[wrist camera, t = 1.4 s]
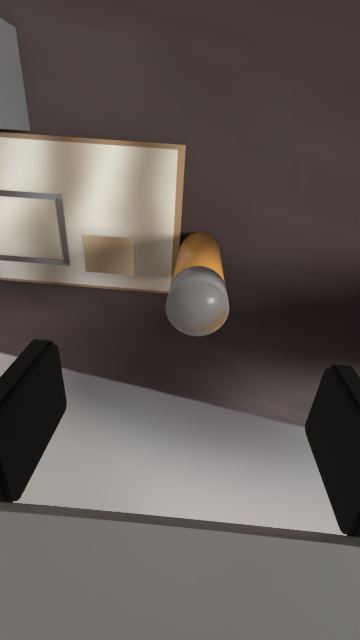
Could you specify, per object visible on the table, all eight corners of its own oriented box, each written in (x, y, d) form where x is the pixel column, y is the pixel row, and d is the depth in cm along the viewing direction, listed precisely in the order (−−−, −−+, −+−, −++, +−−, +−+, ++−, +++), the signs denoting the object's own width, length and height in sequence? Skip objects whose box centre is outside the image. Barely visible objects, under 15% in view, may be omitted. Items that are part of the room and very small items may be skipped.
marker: (222, 233, 24) (233, 282, 16) (217, 273, 26) (224, 338, 17) (180, 229, 24) (166, 276, 16) (177, 270, 26) (164, 333, 17)
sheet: (185, 145, 22) (185, 145, 21) (176, 292, 27) (176, 296, 26) (-84, 126, 22) (-94, 125, 21) (-41, 273, 27) (-48, 277, 27)
